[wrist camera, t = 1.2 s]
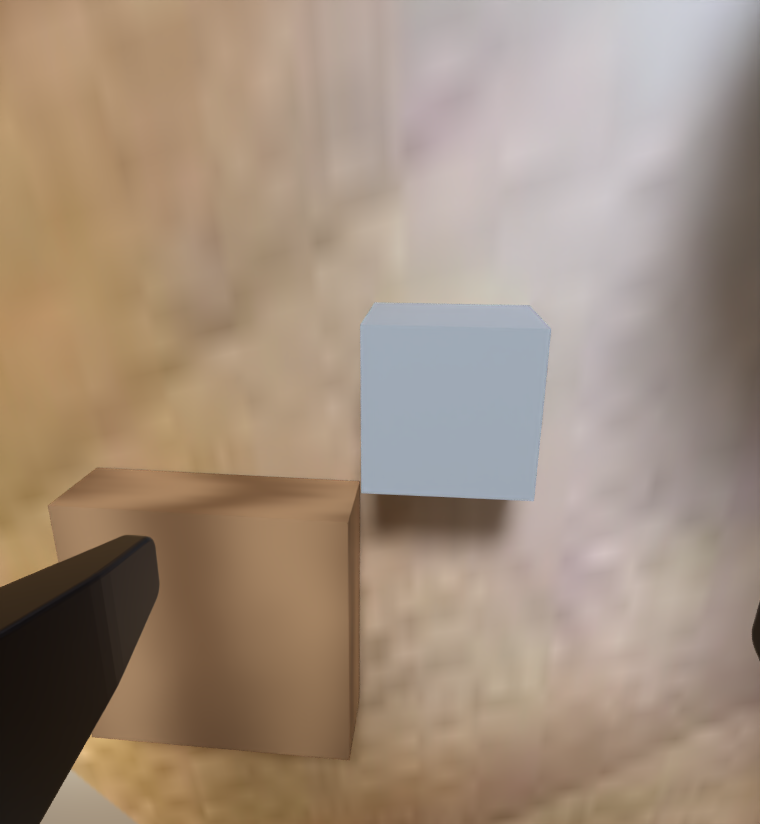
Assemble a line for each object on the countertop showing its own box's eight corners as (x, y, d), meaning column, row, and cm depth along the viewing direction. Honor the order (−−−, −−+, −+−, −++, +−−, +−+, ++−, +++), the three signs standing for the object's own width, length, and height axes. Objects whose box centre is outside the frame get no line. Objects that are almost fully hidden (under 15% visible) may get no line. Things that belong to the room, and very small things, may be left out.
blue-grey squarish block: (528, 304, 19) (550, 329, 16) (516, 447, 21) (533, 500, 17) (374, 301, 20) (360, 324, 16) (374, 442, 21) (361, 493, 18)
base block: (359, 481, 22) (347, 522, 19) (359, 697, 25) (349, 760, 22) (96, 467, 23) (47, 505, 20) (129, 678, 26) (92, 737, 23)
